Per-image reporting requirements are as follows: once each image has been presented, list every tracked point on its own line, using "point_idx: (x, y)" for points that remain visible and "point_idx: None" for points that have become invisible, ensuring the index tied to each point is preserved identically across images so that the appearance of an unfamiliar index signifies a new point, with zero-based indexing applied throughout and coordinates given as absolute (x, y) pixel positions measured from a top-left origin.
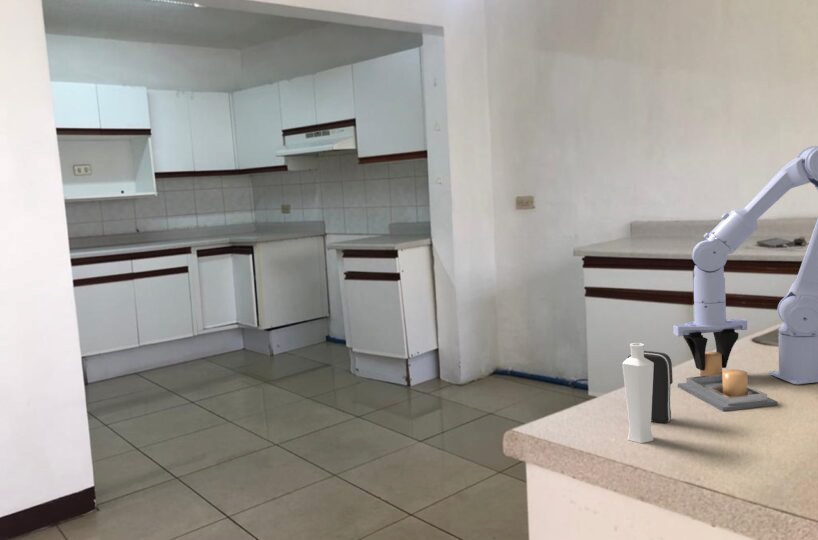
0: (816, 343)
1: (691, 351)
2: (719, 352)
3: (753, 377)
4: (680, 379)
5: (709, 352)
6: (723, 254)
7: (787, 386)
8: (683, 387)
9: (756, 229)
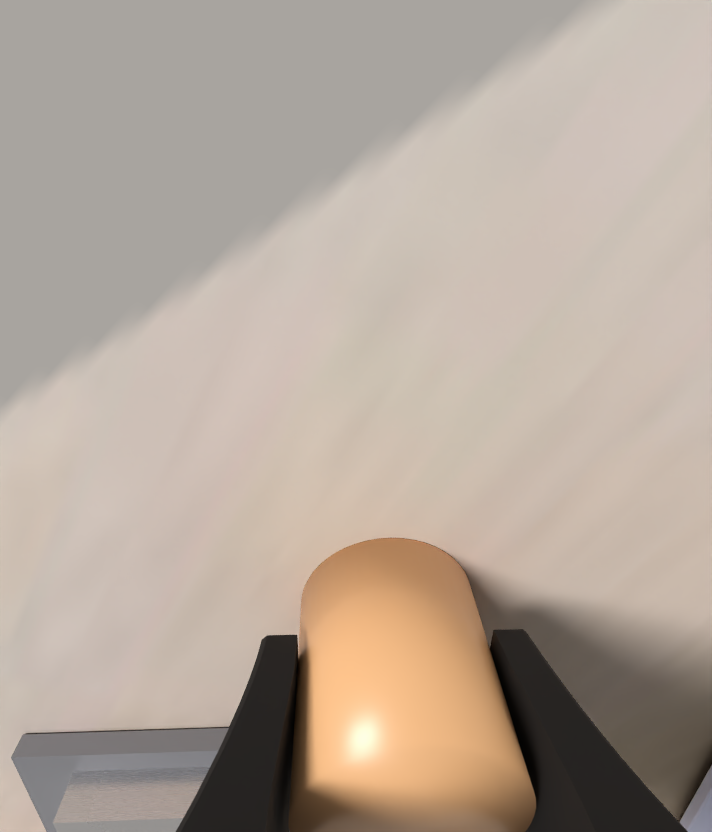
0: None
1: (187, 819)
2: (545, 799)
3: (620, 695)
4: (101, 615)
5: (442, 780)
6: None
7: None
8: (36, 796)
9: None
